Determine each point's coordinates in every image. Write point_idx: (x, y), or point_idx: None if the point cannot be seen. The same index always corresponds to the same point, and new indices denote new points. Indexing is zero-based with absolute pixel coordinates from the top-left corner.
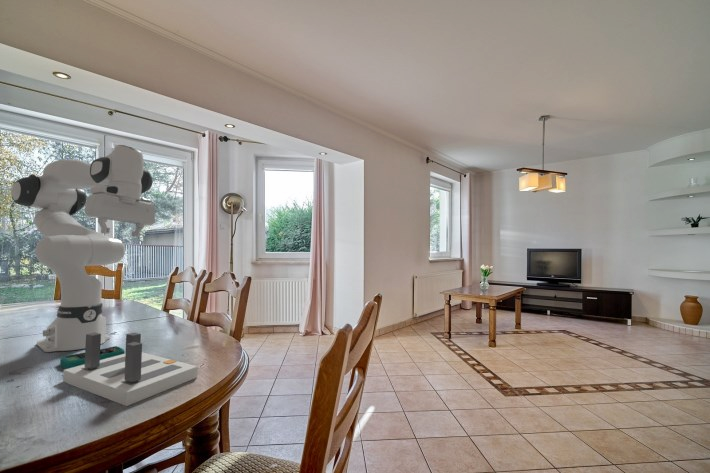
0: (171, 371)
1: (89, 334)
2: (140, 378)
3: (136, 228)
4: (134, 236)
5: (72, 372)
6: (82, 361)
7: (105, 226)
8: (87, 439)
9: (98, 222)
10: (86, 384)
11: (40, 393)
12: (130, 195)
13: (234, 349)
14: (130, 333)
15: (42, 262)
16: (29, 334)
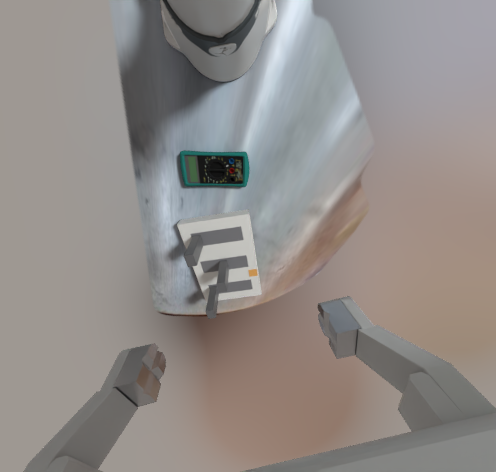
0: (242, 290)
1: (186, 260)
2: (218, 293)
3: (402, 356)
4: (320, 318)
5: (183, 238)
6: (200, 185)
7: (123, 417)
8: (183, 312)
9: (44, 451)
10: None
11: (164, 234)
12: None
13: (331, 254)
14: (220, 283)
15: None
16: None
